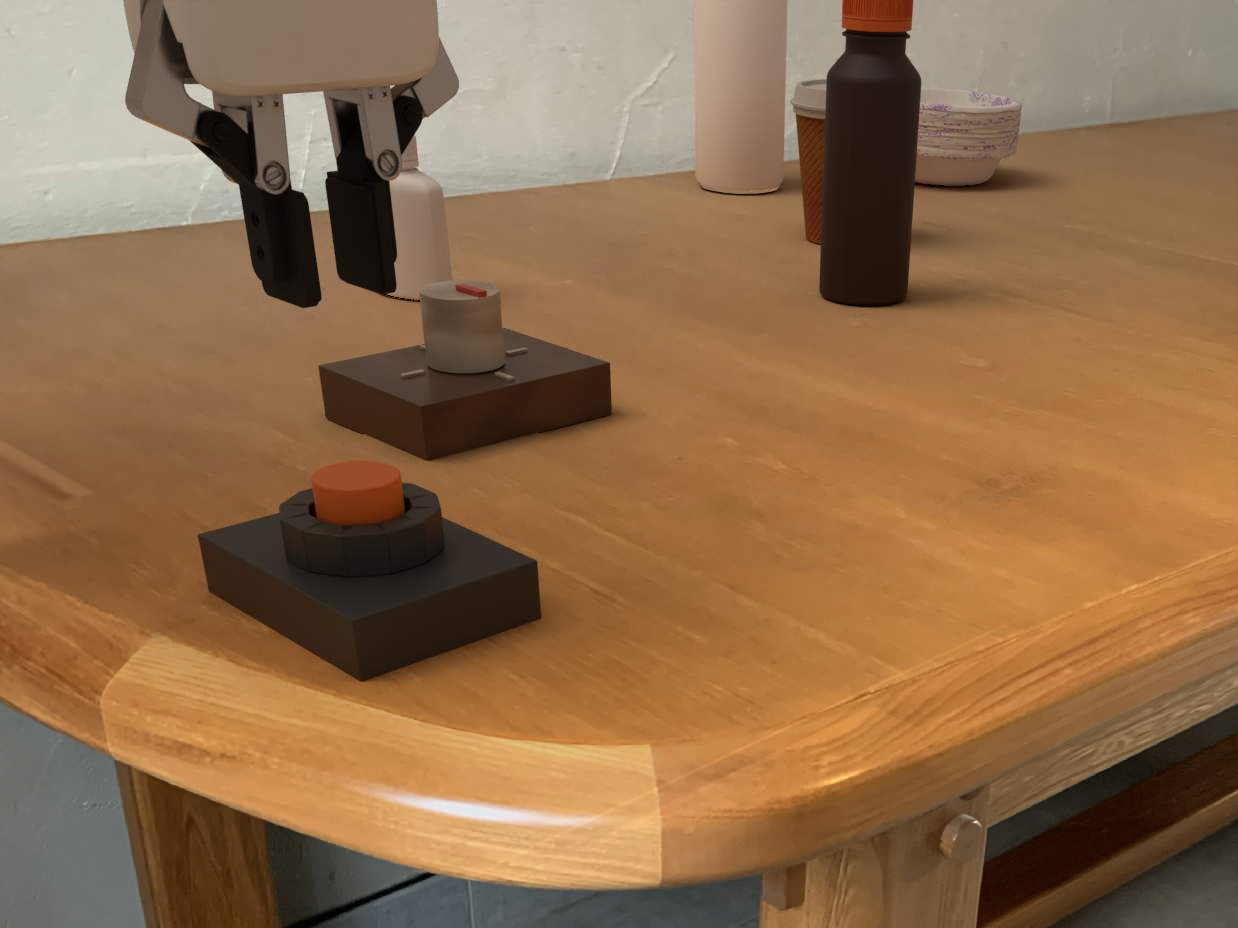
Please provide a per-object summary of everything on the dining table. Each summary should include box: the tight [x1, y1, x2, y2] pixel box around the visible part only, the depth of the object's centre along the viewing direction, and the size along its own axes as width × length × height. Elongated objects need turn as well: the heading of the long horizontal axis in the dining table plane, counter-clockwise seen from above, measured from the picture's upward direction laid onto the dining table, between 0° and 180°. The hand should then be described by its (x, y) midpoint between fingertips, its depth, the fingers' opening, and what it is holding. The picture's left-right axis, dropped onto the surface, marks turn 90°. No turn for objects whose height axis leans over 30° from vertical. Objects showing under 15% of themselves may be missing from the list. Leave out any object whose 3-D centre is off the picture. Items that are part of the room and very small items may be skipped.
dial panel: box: [318, 327, 613, 462], centre depth 87 cm, size 13×10×3 cm
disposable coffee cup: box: [789, 78, 827, 245], centre depth 129 cm, size 10×10×12 cm
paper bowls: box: [915, 87, 1023, 187], centre depth 157 cm, size 15×15×8 cm
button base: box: [197, 482, 542, 683], centre depth 65 cm, size 9×12×4 cm
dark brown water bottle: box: [818, 0, 922, 306], centre depth 110 cm, size 7×7×20 cm
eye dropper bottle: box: [386, 134, 453, 301], centre depth 108 cm, size 4×6×12 cm
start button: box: [310, 460, 405, 525], centre depth 63 cm, size 4×4×2 cm
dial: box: [419, 280, 505, 374], centre depth 85 cm, size 4×4×4 cm
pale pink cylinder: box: [693, 0, 788, 191], centre depth 143 cm, size 9×9×30 cm
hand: (330, 289), depth 58 cm, fingers closed
